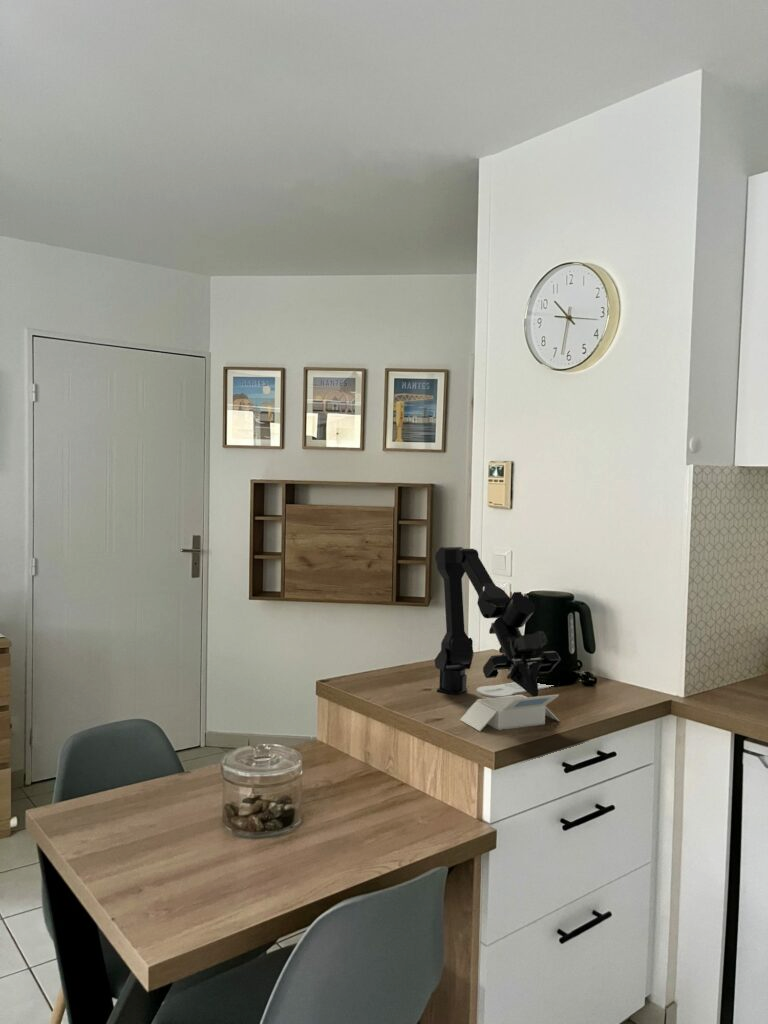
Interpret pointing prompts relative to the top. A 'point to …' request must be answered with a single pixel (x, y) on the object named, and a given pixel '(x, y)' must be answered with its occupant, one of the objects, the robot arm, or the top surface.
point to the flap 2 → (550, 714)
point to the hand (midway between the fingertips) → (535, 695)
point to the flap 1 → (478, 716)
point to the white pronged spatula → (505, 689)
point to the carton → (513, 714)
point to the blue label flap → (530, 702)
